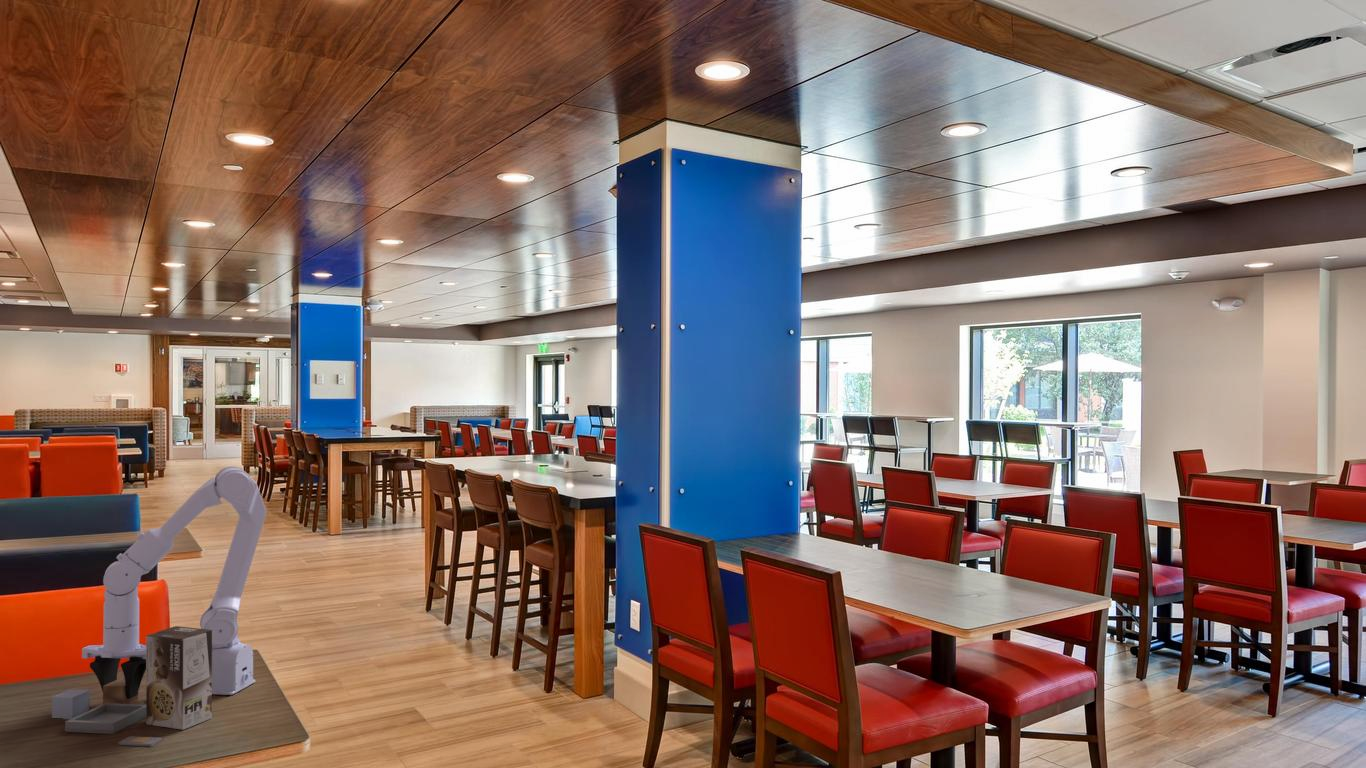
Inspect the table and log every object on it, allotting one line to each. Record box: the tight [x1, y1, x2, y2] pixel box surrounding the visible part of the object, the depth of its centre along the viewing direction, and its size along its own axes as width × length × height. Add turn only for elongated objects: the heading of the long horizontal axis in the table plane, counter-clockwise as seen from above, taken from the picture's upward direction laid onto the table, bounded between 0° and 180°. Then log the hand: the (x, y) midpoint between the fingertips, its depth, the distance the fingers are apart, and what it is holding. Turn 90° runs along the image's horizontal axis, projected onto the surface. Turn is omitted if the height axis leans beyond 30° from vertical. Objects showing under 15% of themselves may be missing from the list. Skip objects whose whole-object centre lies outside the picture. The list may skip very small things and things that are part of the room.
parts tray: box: [64, 703, 146, 735], centre depth 153 cm, size 9×9×2 cm
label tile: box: [117, 735, 164, 747], centre depth 144 cm, size 6×3×1 cm, turn 84°
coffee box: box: [145, 625, 213, 731], centre depth 154 cm, size 9×6×16 cm
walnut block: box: [102, 678, 139, 704], centre depth 162 cm, size 4×4×4 cm
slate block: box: [51, 688, 91, 720], centre depth 157 cm, size 4×4×4 cm
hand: (120, 696), depth 162 cm, fingers closed on walnut block, 4 cm apart
